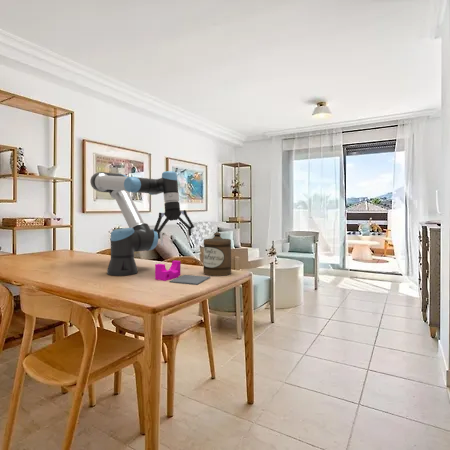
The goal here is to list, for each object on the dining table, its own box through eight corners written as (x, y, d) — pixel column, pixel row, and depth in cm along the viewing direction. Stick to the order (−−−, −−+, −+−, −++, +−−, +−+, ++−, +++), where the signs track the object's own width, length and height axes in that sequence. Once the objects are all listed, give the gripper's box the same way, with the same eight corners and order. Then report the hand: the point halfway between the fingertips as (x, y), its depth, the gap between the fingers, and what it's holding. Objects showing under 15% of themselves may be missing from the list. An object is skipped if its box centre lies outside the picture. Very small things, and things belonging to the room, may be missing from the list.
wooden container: (197, 273, 172) (198, 232, 171) (214, 269, 185) (214, 230, 184) (220, 277, 164) (221, 233, 163) (236, 272, 176) (237, 232, 175)
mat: (169, 282, 151) (169, 281, 151) (184, 275, 166) (184, 274, 166) (197, 284, 146) (197, 283, 146) (210, 278, 162) (210, 276, 162)
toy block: (165, 281, 154) (165, 265, 153) (155, 279, 157) (155, 264, 157) (184, 276, 167) (184, 261, 166) (174, 274, 170) (174, 260, 170)
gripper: (145, 203, 161) (149, 246, 161) (195, 198, 161) (199, 241, 160) (149, 205, 169) (152, 245, 168) (197, 200, 169) (200, 241, 168)
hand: (175, 243), depth 164 cm, fingers open, 13 cm apart
